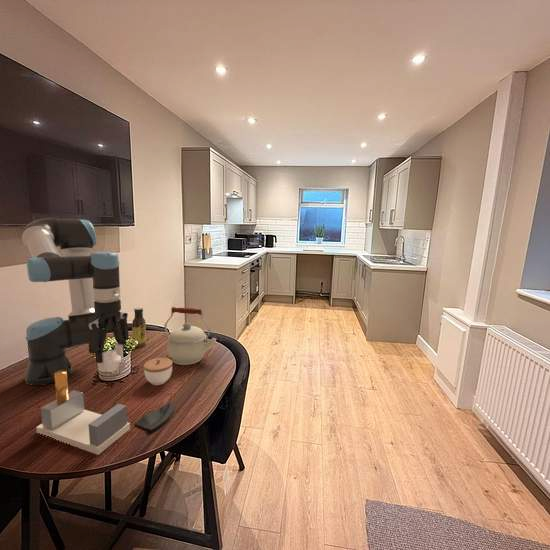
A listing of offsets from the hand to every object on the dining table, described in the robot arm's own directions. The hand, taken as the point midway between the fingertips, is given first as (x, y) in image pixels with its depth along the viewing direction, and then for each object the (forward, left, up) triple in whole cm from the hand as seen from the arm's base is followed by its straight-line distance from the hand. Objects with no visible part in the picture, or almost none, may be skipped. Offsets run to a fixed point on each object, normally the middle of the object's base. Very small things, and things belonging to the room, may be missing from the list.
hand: (111, 366), depth 97 cm
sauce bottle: (-30, +44, -15) cm, 55 cm away
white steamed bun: (0, 0, -2) cm, 2 cm away
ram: (-6, -12, -12) cm, 19 cm away
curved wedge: (+19, 0, -16) cm, 24 cm away
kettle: (+3, +41, -15) cm, 44 cm away
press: (+2, -12, -15) cm, 19 cm away
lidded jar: (+3, +19, -15) cm, 25 cm away
